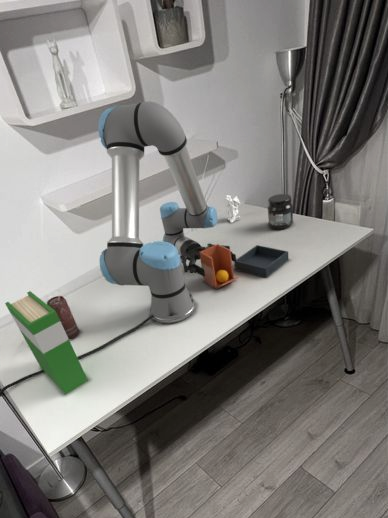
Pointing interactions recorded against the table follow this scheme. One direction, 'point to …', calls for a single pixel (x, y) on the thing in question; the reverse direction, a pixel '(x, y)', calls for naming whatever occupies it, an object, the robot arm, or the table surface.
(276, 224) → the supplement container
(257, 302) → the table surface
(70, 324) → the can
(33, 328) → the hardback book
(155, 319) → the robot arm
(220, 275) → the ball
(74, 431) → the table surface
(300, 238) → the table surface
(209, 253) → the orange open box
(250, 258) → the tray
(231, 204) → the white figurine
